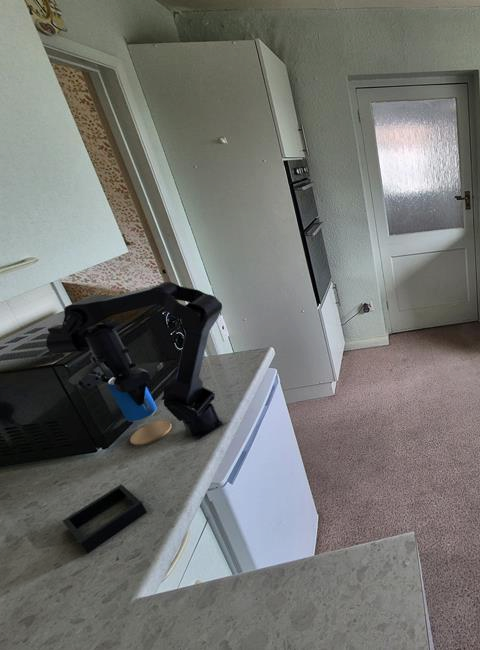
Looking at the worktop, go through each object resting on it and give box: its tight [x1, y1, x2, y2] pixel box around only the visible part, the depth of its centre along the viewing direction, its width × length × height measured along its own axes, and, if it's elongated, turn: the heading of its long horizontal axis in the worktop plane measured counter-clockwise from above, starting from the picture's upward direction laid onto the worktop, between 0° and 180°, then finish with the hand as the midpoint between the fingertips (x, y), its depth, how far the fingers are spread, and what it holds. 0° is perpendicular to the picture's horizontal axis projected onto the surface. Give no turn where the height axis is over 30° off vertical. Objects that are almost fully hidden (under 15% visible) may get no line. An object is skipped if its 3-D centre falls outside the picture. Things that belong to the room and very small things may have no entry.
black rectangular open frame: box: [62, 484, 148, 554], centre depth 77 cm, size 10×10×3 cm
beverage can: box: [107, 378, 158, 423], centre depth 97 cm, size 6×6×12 cm
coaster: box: [129, 419, 173, 447], centre depth 102 cm, size 9×9×1 cm
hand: (135, 401), depth 97 cm, fingers closed on beverage can, 6 cm apart
